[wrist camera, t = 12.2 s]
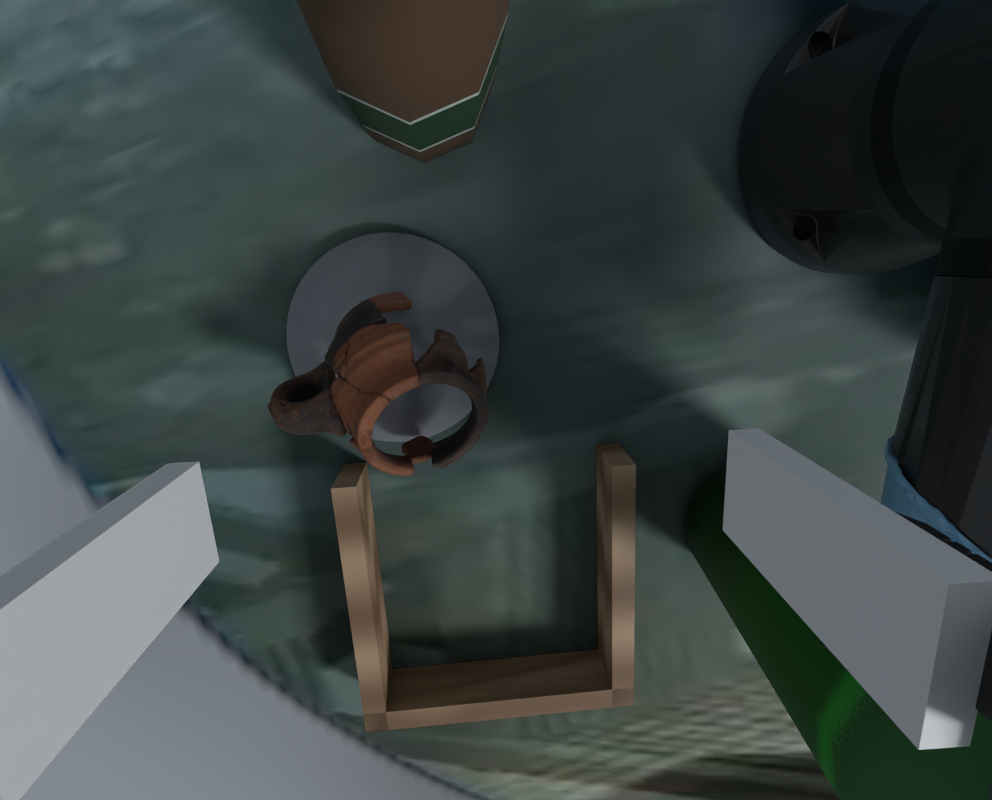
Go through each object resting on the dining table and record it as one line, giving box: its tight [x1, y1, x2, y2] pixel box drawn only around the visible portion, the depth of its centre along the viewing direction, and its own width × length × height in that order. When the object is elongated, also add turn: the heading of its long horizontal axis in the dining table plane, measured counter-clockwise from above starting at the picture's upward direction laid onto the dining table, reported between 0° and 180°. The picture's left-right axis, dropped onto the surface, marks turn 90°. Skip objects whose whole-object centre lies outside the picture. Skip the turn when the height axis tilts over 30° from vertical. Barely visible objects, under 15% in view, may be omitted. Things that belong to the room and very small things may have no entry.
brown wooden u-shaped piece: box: [331, 443, 636, 732], centre depth 37 cm, size 18×18×4 cm
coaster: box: [286, 232, 499, 442], centre depth 34 cm, size 13×13×1 cm
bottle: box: [684, 469, 992, 800], centre depth 26 cm, size 11×11×28 cm
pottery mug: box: [268, 293, 488, 476], centre depth 32 cm, size 12×9×8 cm
